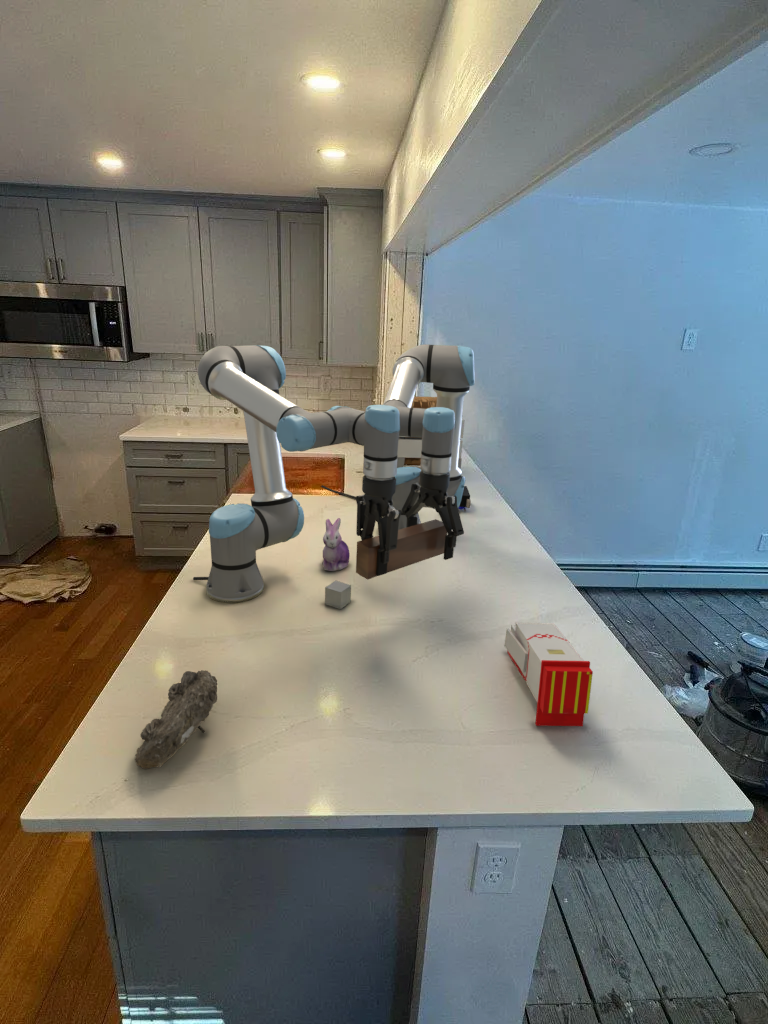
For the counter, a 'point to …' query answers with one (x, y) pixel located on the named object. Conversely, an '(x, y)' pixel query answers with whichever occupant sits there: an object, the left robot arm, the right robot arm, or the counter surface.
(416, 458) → the white slatted box
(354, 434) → the left robot arm
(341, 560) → the figurine
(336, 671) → the counter surface
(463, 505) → the figurine character
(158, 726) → the fossil
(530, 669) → the toy
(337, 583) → the grey ceramic block
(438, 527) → the walnut block
